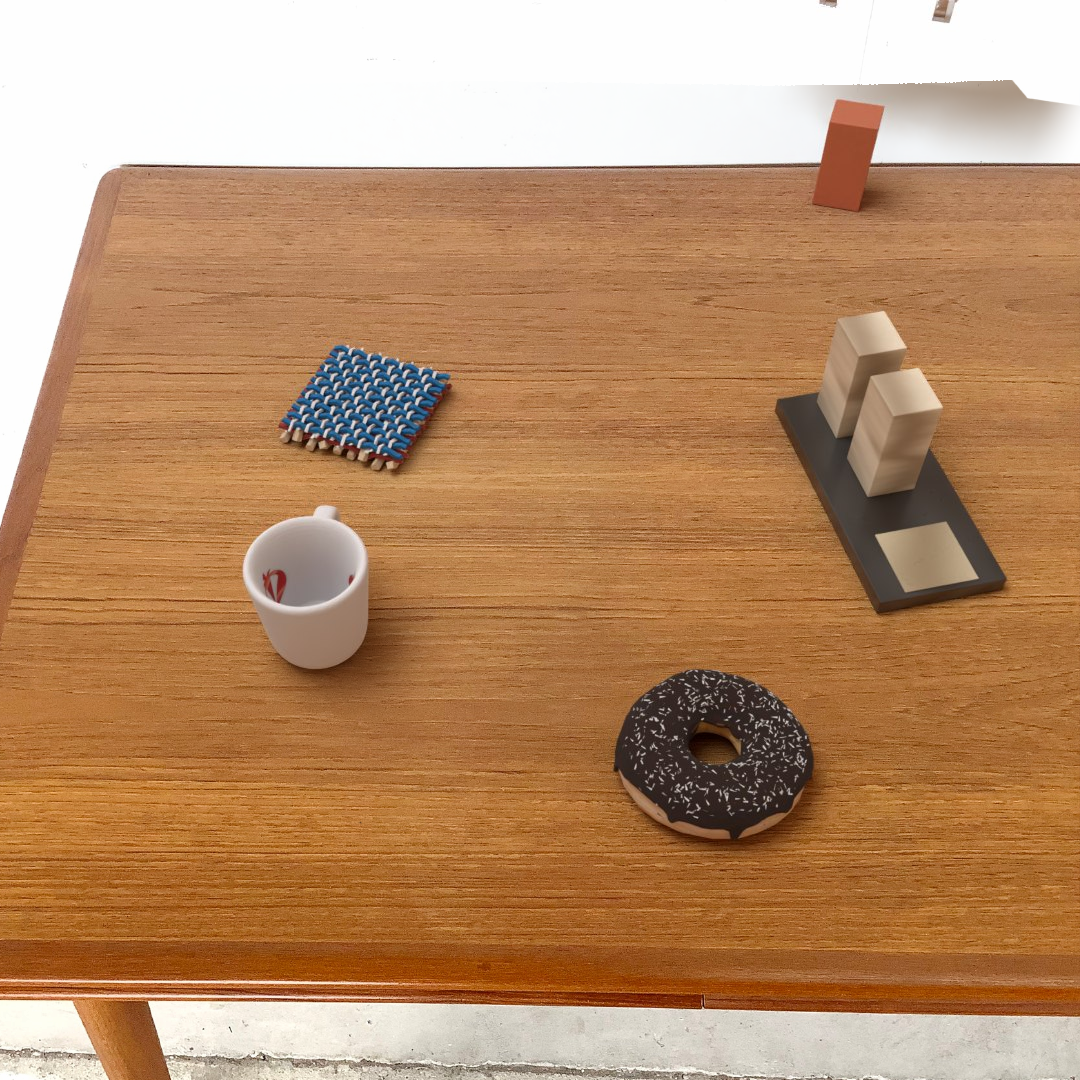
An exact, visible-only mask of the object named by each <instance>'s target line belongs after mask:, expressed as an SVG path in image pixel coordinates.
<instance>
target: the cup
mask: <svg viewBox="0 0 1080 1080" xmlns="http://www.w3.org/2000/svg"><path fill="white" fill-rule="evenodd" d="M369 559H370V558H369V554H368V549H367V547H366V545H365V543H364V541H363V540H362V538H361V537H360V535H358V533H357V532H355V530H354V529H352V528H351V527H350V526H348V525H347V524H345V523H343V522H342V519H341V514H340V511H339V509H338V508H337V507H335V506H333V505H327V504H325V505H324V504H322V505H318V506H317V507H316V508H315V510H314V512H313V515H305V516H298V517H297V516H296V517H293V518H288V519H285V520H283V521H281V522H278V523H276V524H274V525H271V526H270V527H269V528H267V529H265V530H264V531H263V532H262V533H261V534H259V535H258V536H256V538H255V539H254V541H253V542H252V543H251V545H250V546H249V548H248V549H247V551H246V554H245V556H244V558H243V563H242V578H243V583H244V586H245V589H246V591H247V593H248V596H249V597H250V599H251V603H252V604H253V606H254V609H255V611H256V612H257V616H258V618H259V620H260V622H261V625H262V627H263V629H264V631H265V633H266V635H267V638H268V640H269V642H270V643H271V645H272V646H273V648H274V650H275V651H276V653H278V655H279V656H280V657H282V658H283V659H284V660H285V661H287V662H288V663H290V664H292V665H294V666H296V667H300V668H303V669H308V670H322V669H328V668H331V667H335V666H337V665H340V664H341V663H344V662H345V661H347V660H348V659H349V658H351V657H352V656H353V655H355V653H356V652H357V651H358V649H360V647H361V645H362V643H363V642H364V639H365V637H366V634H367V630H368V625H369V584H370V583H369V580H370V577H369V576H370V573H369V572H370V571H369V570H370V560H369Z"/></svg>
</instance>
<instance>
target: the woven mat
mask: <svg viewBox="0 0 1080 1080" xmlns="http://www.w3.org/2000/svg"><path fill="white" fill-rule="evenodd" d="M364 350H365V348H364V347H361V348H360V349H359V348H358V349H357V348H356V347H351V348H350V345H349V344H346V345H344V344H339V345H335V346H334V347H333V349H332V348H331V350H330V351H329V353H328V356H326V358H325V359H324V361H323V363H321V364H320V365H319V368H318V369H317V370H316V372H315V373H314V376H312V377H311V378H310V379H309V381H308V383H307V385H306V386H305V388H303V390H302V391H301V392H300V393H299V396H298V397H297V399H296V400H295V402H294V403H292V405H291V407H290V408H289V409H288V410H287V413H286V414H285V416H283V418H282V419H281V421H280V422H279V423H278V425H277V426H278V428H280V429H282V430H283V432H282V434H281V435H280V437H279V438H278V439H279V440H280V441H281V442H282V444H285V443H288V442H289V441H290V439H291V440H292V441H295V442H300V443H301V442H302V440H303V441H304V440H308V439H309V440H308V442H307V443H306V445H305V449H306V450H307V451H309V452H313V451H314V450H315V448H316V446H317V445H318V448H319V450H328V449H329V448H330V447H332V446H333V448H332V449H333V450H332V452H333V453H334V454H336V455H338V456H341V454H342V452H343V451H344V449H346V450H348V452H347V454H346V459H348V460H350V461H353V460H354V459H355V458H356V457H357V460H359V461H362V462H368V460H369V459H372V458H373V459H374V460H373V461H372V462H371V465H370V467H371V469H372V470H373V471H380V469H381V468H382V466H383V465H384V463H385V465H386V468H387V470H390V471H391V470H394V469H397V468H398V466H399V465H400V464H401V465H402V464H403V463H404V459H405V460H407V459H408V458H409V456H410V455H409V453H408V451H409V452H411V451H412V449H413V443H414V444H415V443H416V442H417V440H418V438H417V436H420V435H421V434H422V431H425V430H426V428H427V425H426V423H427V422H429V421H430V419H431V416H433V415H434V413H435V410H434V409H437V408H438V407H439V402H442V401H443V399H444V395H446V394H447V392H448V390H451V389H452V387H453V385H452V383H451V382H449V380H450V378H451V374H448V373H445V372H444V373H441V372H440V371H438V370H436V371H435V370H434V367H433V366H429V368H427V367H425V366H422V367H417V366H416V365H415V364H416V362H414V361H411V362H410V363H407V362H408V361H402V362H399V361H400V358H398V357H396V359H395V358H390V357H389V356H387V355H386V356H384V357H383V356H382V352H378V354H375V353H376V352H371V353H368V354H367V353H366V352H364ZM448 382H449V383H448ZM385 461H386V462H385Z"/></svg>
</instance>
